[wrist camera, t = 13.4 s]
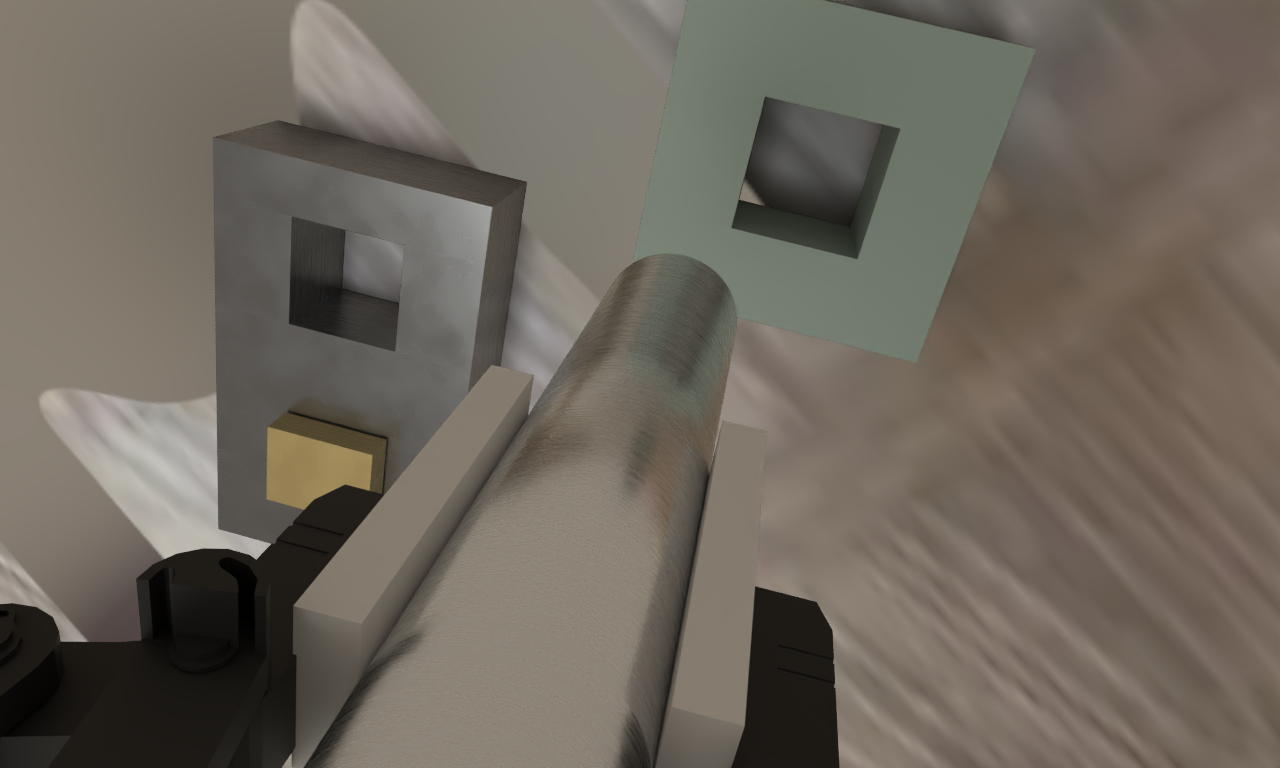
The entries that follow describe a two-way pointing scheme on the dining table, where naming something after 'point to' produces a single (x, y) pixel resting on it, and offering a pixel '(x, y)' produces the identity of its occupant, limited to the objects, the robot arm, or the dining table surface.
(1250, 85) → the dining table surface
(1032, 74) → the dining table surface
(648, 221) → the green square-hole block
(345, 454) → the golden block
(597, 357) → the shiny grey rod
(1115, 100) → the dining table surface
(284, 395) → the socket block
